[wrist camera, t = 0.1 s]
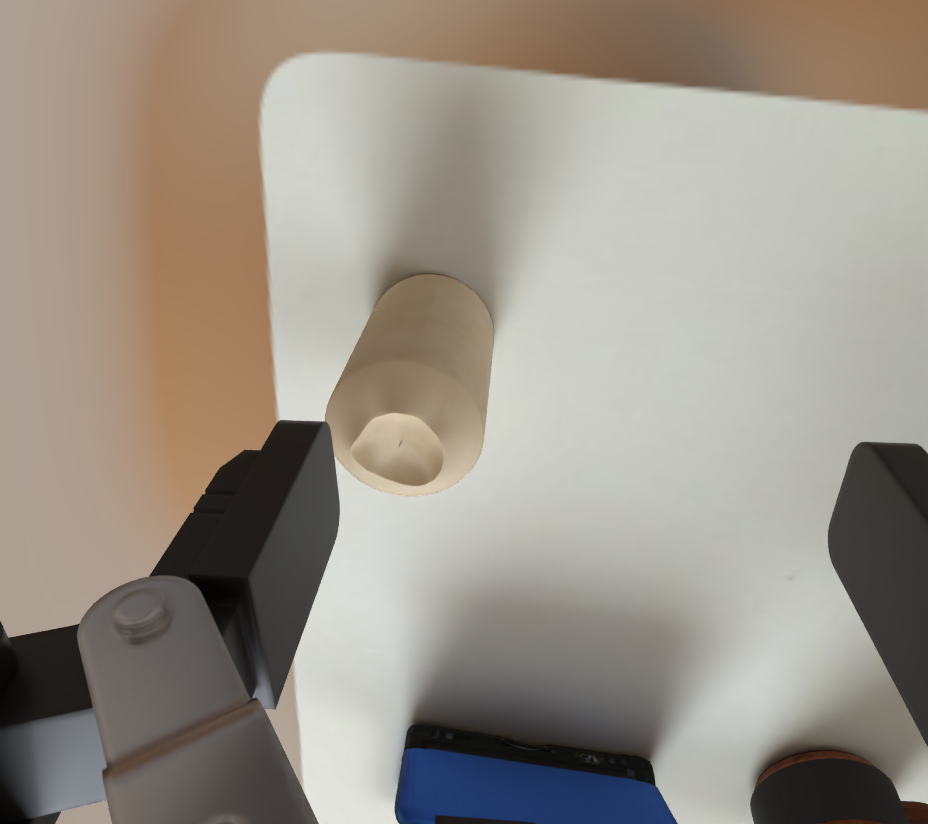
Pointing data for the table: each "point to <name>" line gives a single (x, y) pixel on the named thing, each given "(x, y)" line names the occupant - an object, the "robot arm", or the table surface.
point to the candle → (415, 389)
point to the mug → (830, 793)
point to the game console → (521, 782)
